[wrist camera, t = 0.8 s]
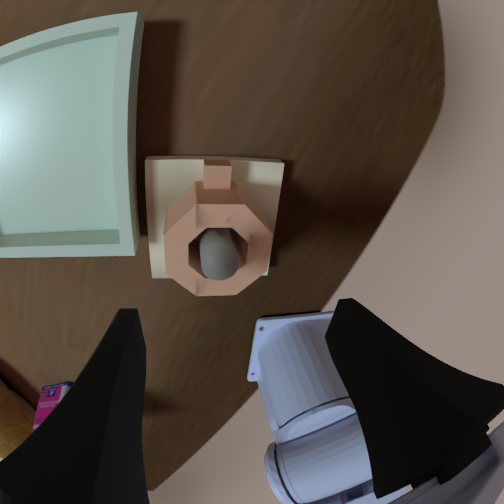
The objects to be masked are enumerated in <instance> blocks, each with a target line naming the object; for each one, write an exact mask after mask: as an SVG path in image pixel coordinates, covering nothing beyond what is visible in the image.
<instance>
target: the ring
mask: <svg viewBox="0 0 504 504" xmlns="http://www.w3.org/2000/svg"><path fill="white" fill-rule="evenodd" d="M231 171H232V165H231V164H230V162H229V160H204V161H203V181H195V182H194V183H193V184H192V185H191V186H190V187H189V188H188V189H186V190H185V191H184V192H183V193H182V194H181V195H180V196H179V197H178V198H177V199H176V200H175V201H174V202H173V203H172V204H171V205H170V206H169V207H168V208H167V213H166V220H165V226H164V233H163V236H164V253H165V267H166V274H167V275H169V276H170V277H171V278H172V279H174V280H175V281H176V282H178V283H179V284H180V285H182V286H183V287H185V288H186V289H187V290H189V291H190V292H191V293H193V294H194V295H195V296H217V295H237V294H238V293H239V292H240V291H242V290H243V289H244V288H246V287H247V286H248V285H249V284H251V283H252V282H253V281H255V280H256V279H257V278H258V277H260V276H261V275H262V274H264V273H265V272H266V271H267V268H268V261H269V255H270V249H271V242H272V236H273V233H272V231H271V230H270V228H269V226H268V224H267V223H266V221H265V219H264V217H263V216H262V214H261V212H260V210H259V209H258V207H257V206H256V205H255V204H254V203H253V202H252V201H251V200H250V199H249V198H248V197H247V195H246V194H245V193H244V192H243V191H242V190H241V189H240V188H239V187H238V186H237V185H236V184H235V182H231ZM206 228H233V229H234V230H235V231H236V233H235V234H234V235H233V236H231V237H232V240H233V243H234V247H235V250H236V254H237V257H238V260H239V267H238V270H237V272H236V273H235V274H234V275H233V276H232V277H230V278H228V279H226V280H221V281H216V280H212V279H210V278H208V277H207V276H205V274H204V273H203V271H202V268H201V258H200V246H199V243H198V242H197V241H196V240H195V239H194V238H195V237H197V236H198V235H199V234H200V233H201V232H202V231H203V230H204V229H206Z"/></svg>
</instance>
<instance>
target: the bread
mask: <svg viewBox="0 0 504 504" xmlns="http://www.w3.org/2000/svg"><path fill="white" fill-rule="evenodd" d="M35 415H36V411H35V410H34V408H33V407H32V406H31V405H29V404H28V403H27V402H26V401H25V400H24V399H23V398H22V397H21V396H20V395H18V394H17V393H16V392H14V391H12V390H9V389H8V387H7V386H6V385H5V383H4V382H3V381H2V380H1V379H0V457H1V458H3V459H4V458H5V457H7V456H8V455H9V454H10V453H11V452H13V451H14V450H15V449H16V448H17V447H18V446H19V445H20V444H22V442H23V441H24V440H25V439H26V438H27V437H28V436H29V435H30V434H31V433H32V429H33V424H34V420H35Z"/></svg>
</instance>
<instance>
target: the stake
mask: <svg viewBox="0 0 504 504" xmlns="http://www.w3.org/2000/svg"><path fill="white" fill-rule="evenodd" d="M204 160H229V162H230V164H231V165H232V171H231V182H235V184H236V185H237V186H238V187H239V188H240V189H241V190H242V191H243V192H244V193H245V194H246V195H247V197H248V198H249V199H250V200H251V201H252V202H253V203H254V204H255V205H256V206H257V207H258V209H259V210H260V212H261V214H262V216H263V217H264V219H265V221H266V223H267V224H268V226H269V228H270V230H271V231H272V233H273V236H274V230H275V223H276V217H277V211H278V204H279V197H280V191H281V184H282V177H283V170H284V163H283V162H282V161H281V160H280V159H267V158H251V157H230V156H147V158H146V159H145V188H146V210H147V226H148V239H149V251H150V261H151V270H152V278H171V277H170V276H169V275H167V274H166V267H165V253H164V236H163V233H164V226H165V220H166V213H167V208H168V207H169V206H170V205H171V204H172V203H173V202H174V201H175V200H176V199H177V198H178V197H179V196H180V195H181V194H182V193H183V192H184V191H185V190H186V189H188V188H189V187H190V186H191V185H192V184H193V183H194V182H195V181H203V161H204ZM235 233H236V231H235V230H234V229H233V228H206V229H204V230H203V231H202V232H201V233H200V234H199V235H198V236H197V237H195V238H194V239H195V240H196V241H197V242H198V243H199V246H200V258H201V268H202V271H203V273H204V274H205V276H207V277H208V278H210V279H212V280H216V281H221V280H226V279H228V278H230V277H232V276H233V275H234V274H235V273H236V272H237V270H238V267H239V260H238V257H237V254H236V250H235V247H234V243H233V240H232V237H231V236H233V235H234V234H235ZM273 236H272V242H271V249H272V243H273ZM271 249H270V255H271ZM270 255H269V261H270ZM269 261H268V267H269ZM267 273H268V268H267V271H266V272H265V273H264V274H262V275H267Z"/></svg>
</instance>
